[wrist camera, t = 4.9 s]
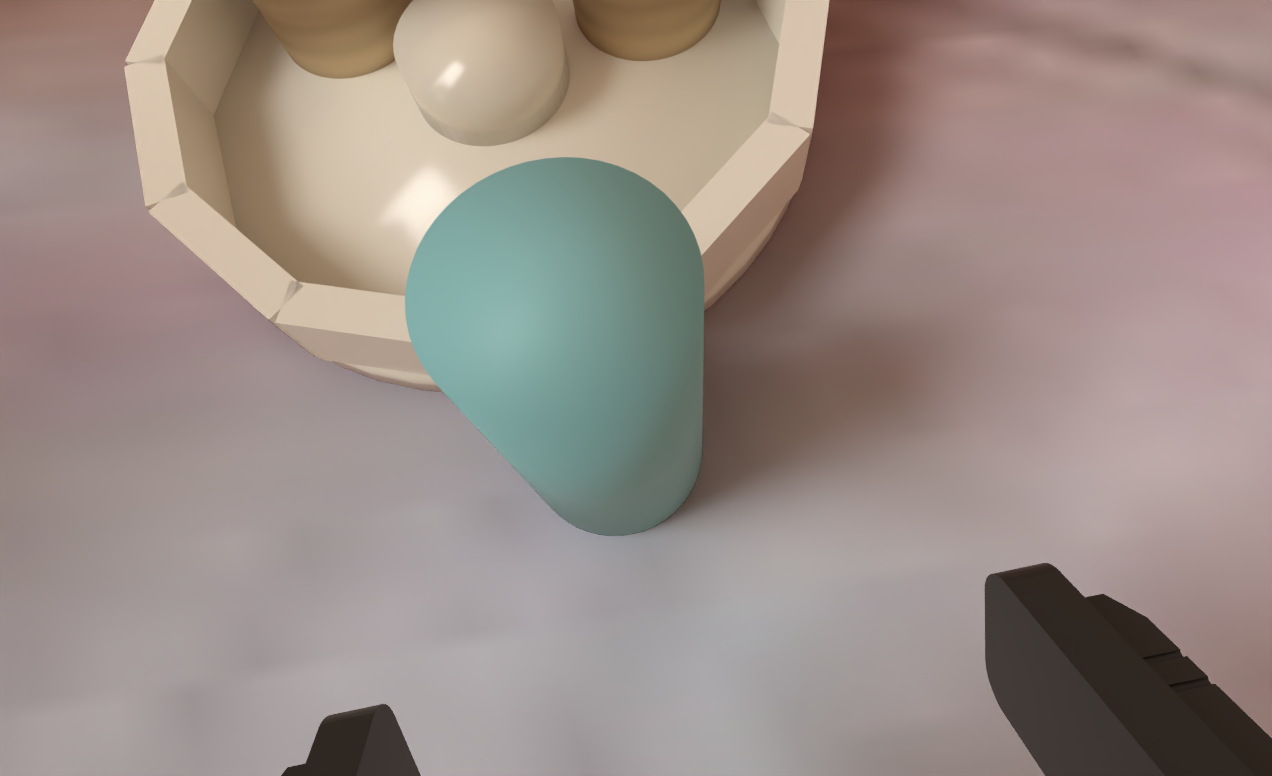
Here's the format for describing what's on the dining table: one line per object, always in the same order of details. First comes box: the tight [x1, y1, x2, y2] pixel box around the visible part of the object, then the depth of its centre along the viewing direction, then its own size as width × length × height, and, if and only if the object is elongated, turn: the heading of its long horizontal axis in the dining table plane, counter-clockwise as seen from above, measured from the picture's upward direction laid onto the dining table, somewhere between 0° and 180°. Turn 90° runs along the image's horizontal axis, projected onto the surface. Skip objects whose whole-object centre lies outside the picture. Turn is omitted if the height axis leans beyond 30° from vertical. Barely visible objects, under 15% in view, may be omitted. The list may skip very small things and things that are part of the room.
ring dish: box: [124, 0, 829, 392], centre depth 24 cm, size 20×20×4 cm
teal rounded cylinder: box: [405, 157, 705, 536], centre depth 17 cm, size 5×5×10 cm
